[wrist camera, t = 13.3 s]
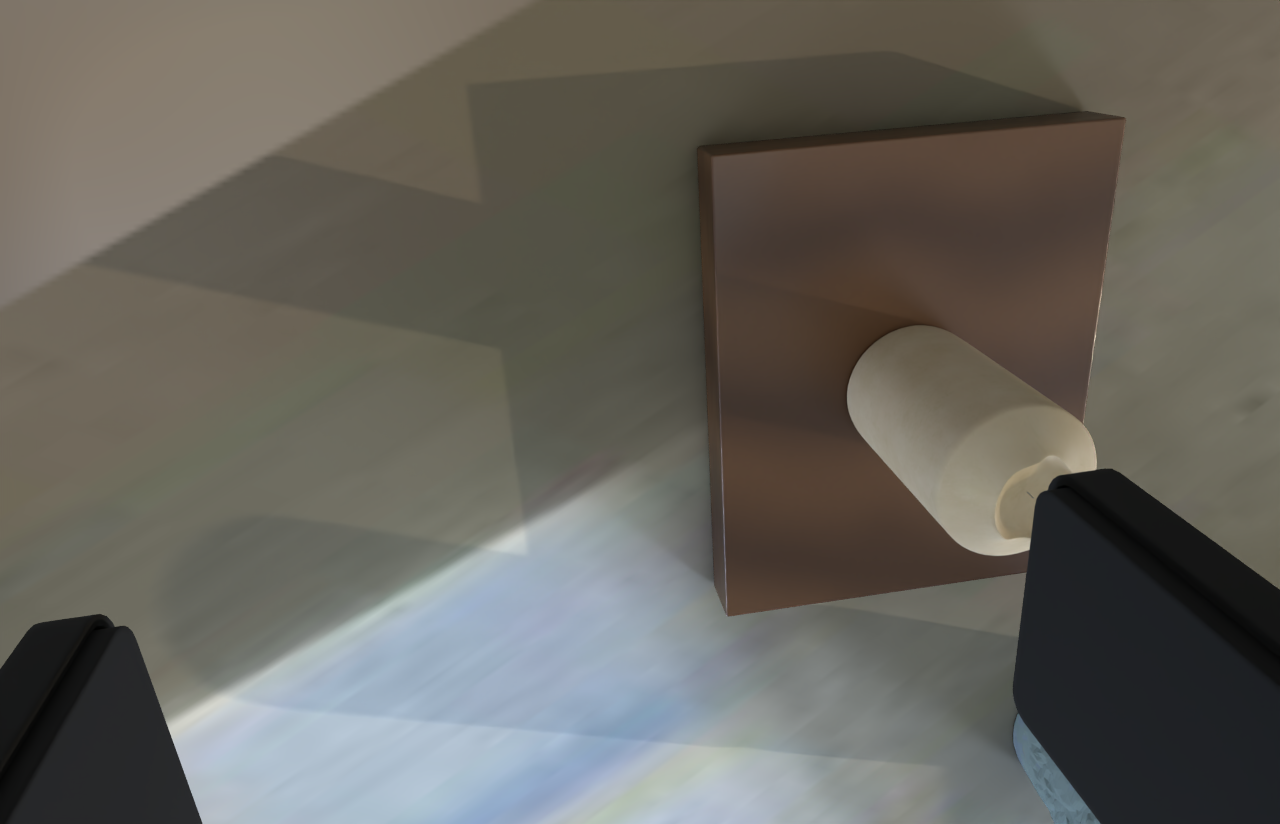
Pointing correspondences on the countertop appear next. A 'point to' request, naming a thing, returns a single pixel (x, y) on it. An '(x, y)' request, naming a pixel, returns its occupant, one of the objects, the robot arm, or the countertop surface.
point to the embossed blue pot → (1049, 780)
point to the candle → (964, 435)
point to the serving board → (881, 327)
